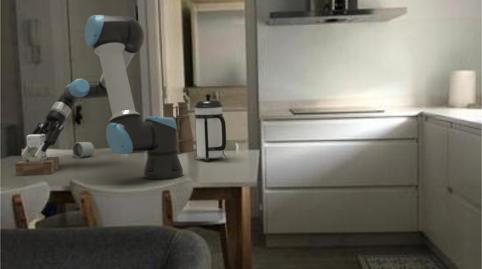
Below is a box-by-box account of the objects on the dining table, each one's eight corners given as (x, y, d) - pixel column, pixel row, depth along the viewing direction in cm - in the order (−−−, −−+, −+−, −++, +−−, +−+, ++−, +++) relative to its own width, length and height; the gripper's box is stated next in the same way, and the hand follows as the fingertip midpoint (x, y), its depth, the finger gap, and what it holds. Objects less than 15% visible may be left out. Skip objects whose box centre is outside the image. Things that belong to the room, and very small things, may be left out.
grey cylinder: (96, 156, 268) (94, 140, 267) (83, 158, 261) (81, 142, 260) (81, 155, 274) (80, 140, 273) (68, 157, 267) (67, 142, 266)
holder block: (51, 174, 221) (50, 162, 221) (16, 175, 220) (15, 163, 219) (59, 168, 235) (58, 156, 234) (26, 169, 234) (25, 158, 233)
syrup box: (48, 167, 230) (45, 133, 228) (41, 169, 224) (39, 135, 222) (35, 167, 230) (32, 133, 229) (28, 170, 225) (25, 135, 223)
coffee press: (188, 162, 239) (185, 94, 236) (199, 157, 255) (197, 93, 251) (226, 163, 235) (224, 94, 232) (235, 157, 250) (233, 92, 247)
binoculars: (171, 155, 261) (169, 104, 258) (156, 154, 266) (153, 104, 263) (198, 150, 277) (196, 101, 275) (183, 149, 283) (181, 101, 280)
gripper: (79, 120, 233) (53, 163, 221) (47, 119, 243) (19, 160, 231) (69, 109, 228) (42, 152, 216) (36, 108, 238) (8, 150, 226)
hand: (30, 156), depth 224 cm, fingers closed on syrup box, 7 cm apart
